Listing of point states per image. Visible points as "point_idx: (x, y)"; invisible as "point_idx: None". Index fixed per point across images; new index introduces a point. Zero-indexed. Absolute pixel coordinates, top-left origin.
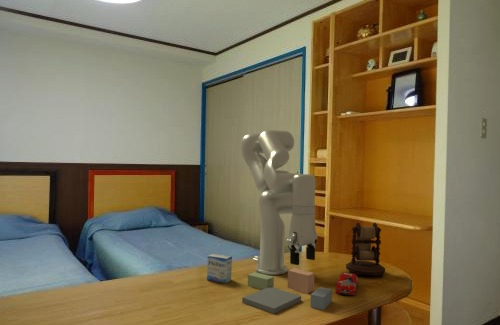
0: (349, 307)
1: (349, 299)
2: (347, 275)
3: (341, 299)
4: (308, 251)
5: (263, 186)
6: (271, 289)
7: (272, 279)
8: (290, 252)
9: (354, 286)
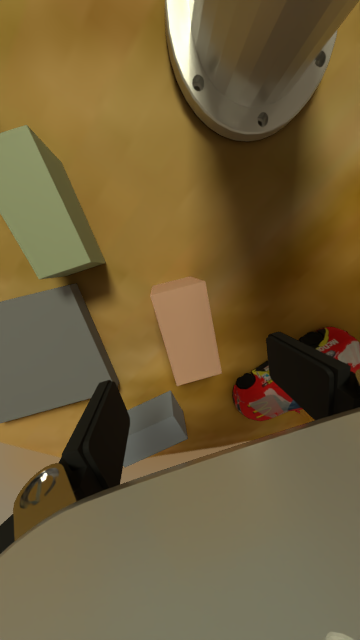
0: (189, 443)
1: (226, 416)
2: None
3: (211, 410)
4: (303, 374)
5: None
6: (56, 311)
7: (85, 264)
8: (68, 445)
9: (272, 417)
